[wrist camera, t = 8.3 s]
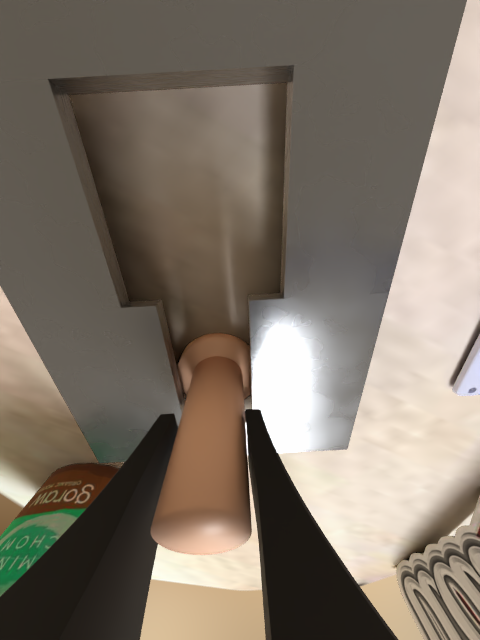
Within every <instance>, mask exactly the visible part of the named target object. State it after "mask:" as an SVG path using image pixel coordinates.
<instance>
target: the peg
mask: <svg viewBox="0 0 480 640" xmlns="http://www.w3.org/2000/svg"><path fill="white" fill-rule="evenodd" d="M177 370H178V374H179V379H180V383H181V388H182V391H183V392H184V393H185V394H186V395H187V398H186V401H185V405H184V409H183V412H182V416H181V420H180V423H179V427H178V431H177V434H176V438H175V442H174V445H173V449H172V453H171V456H170V460H169V464H168V467H167V471H166V475H165V478H164V482H163V486H162V489H161V493H160V497H159V500H158V504H157V508H156V511H155V515H154V519H153V522H152V526H151V536H152V538H153V539H154V540H155V541H156V542H157V543H158V544H159V545H161V546H163V547H165V548H167V549H169V550H172V551H175V552H179V553H184V554H192V555H209V554H218V553H223V552H227V551H230V550H233V549H235V548H238V547H240V546H241V545H243V544H244V543H245V542H246V541H248V539H249V538H250V536H251V532H252V529H251V512H250V495H249V478H248V460H247V443H246V426H245V409H244V399H246V398H247V397H248V396H249V395H250V394H251V366H250V346H249V345H248V344H247V343H246V342H244V341H243V340H241V339H239V338H238V337H235V336H233V335H229V334H224V333H212V334H206V335H203V336H200V337H198V338H196V339H195V340H193V341H192V342H191V343H189V344H188V345H187V347H186V348H185V349H184V351H183V353H182V355H181V358H180V360H179V363H178V366H177Z"/></svg>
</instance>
